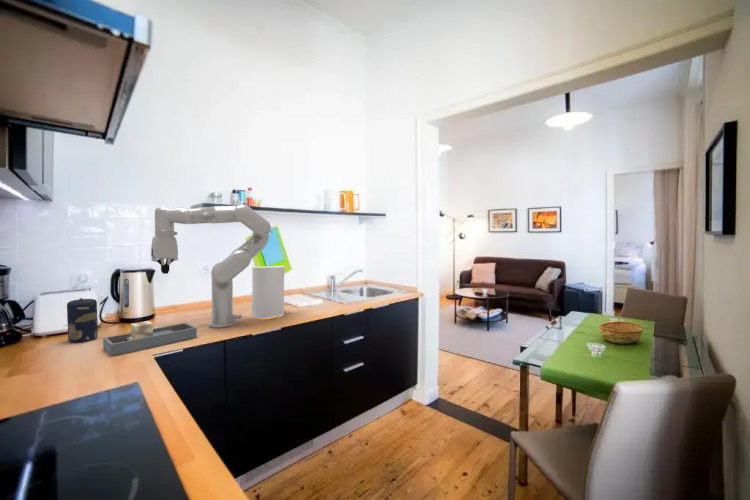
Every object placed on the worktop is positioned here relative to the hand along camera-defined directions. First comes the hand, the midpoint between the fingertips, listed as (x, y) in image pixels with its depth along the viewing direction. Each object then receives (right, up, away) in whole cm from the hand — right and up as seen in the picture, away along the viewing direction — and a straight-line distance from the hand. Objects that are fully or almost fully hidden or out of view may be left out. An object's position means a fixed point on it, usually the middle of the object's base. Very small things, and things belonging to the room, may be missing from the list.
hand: (165, 273), depth 152 cm
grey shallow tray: (+5, -28, -17) cm, 33 cm away
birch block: (+3, -25, -20) cm, 32 cm away
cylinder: (+38, -26, +32) cm, 56 cm away
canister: (-26, -28, -14) cm, 40 cm away
